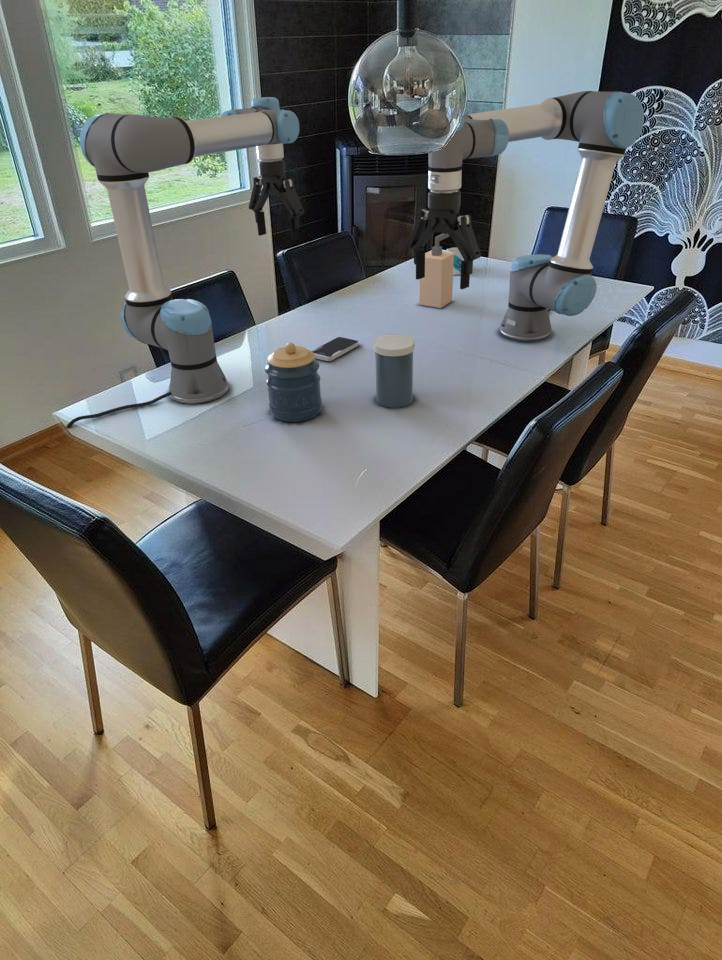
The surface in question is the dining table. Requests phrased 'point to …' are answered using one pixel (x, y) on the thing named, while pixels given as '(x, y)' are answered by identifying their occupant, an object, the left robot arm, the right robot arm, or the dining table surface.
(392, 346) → the lid
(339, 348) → the smartphone
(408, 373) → the jar
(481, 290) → the dining table surface
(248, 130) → the left robot arm
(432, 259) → the soap dispenser
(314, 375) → the canister
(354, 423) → the dining table surface
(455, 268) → the mug
